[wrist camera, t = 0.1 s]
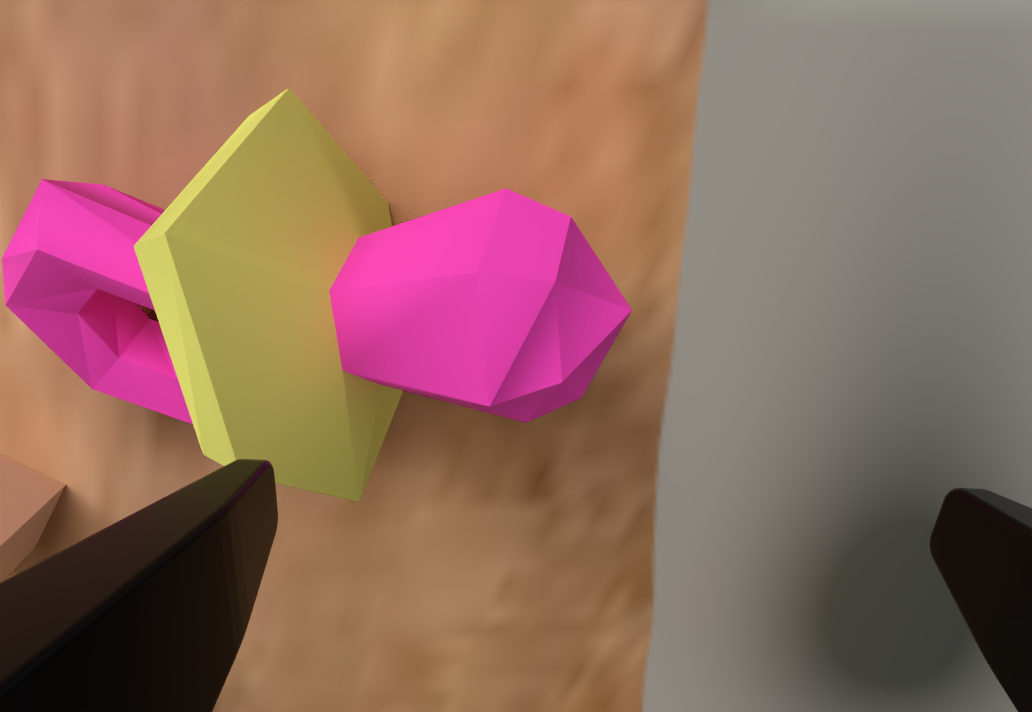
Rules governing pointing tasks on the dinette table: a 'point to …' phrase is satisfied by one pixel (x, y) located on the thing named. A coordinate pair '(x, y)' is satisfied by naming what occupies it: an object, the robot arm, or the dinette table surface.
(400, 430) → the dinette table surface
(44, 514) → the terracotta brick
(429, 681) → the dinette table surface
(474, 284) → the toy
